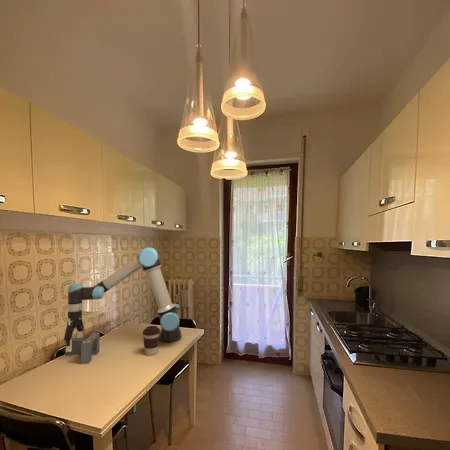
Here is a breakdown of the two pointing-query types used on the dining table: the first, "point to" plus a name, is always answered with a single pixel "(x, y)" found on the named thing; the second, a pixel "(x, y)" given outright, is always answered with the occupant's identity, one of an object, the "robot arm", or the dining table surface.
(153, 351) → the coffee cup
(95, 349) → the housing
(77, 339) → the plug
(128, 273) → the robot arm
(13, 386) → the dining table surface
